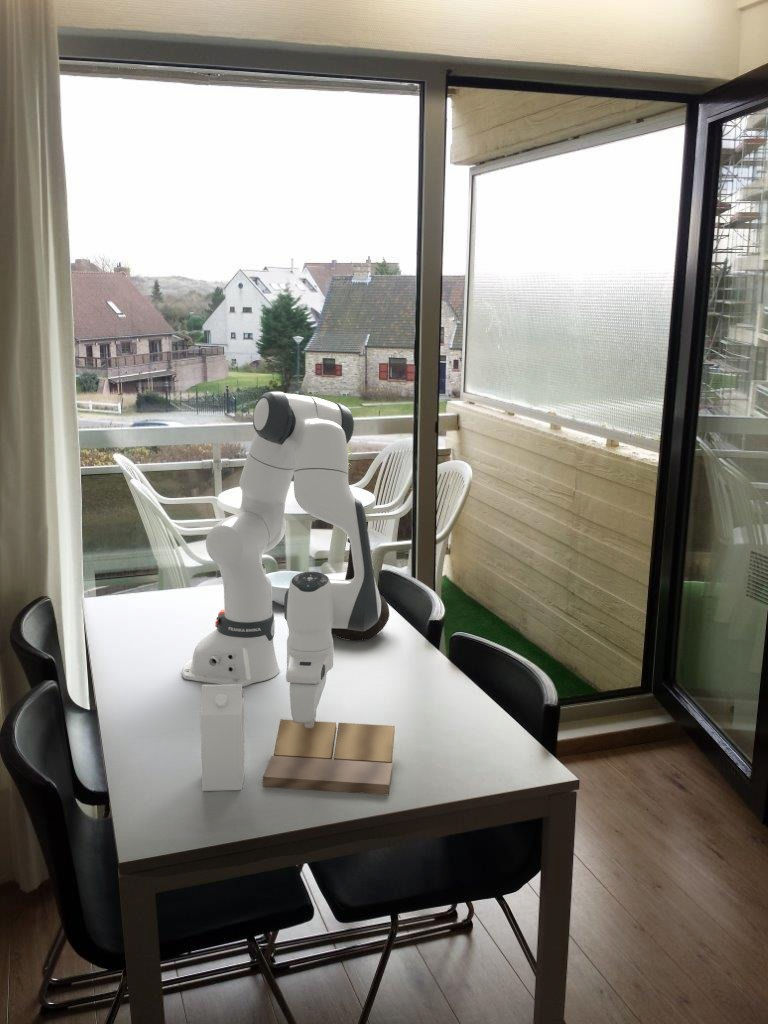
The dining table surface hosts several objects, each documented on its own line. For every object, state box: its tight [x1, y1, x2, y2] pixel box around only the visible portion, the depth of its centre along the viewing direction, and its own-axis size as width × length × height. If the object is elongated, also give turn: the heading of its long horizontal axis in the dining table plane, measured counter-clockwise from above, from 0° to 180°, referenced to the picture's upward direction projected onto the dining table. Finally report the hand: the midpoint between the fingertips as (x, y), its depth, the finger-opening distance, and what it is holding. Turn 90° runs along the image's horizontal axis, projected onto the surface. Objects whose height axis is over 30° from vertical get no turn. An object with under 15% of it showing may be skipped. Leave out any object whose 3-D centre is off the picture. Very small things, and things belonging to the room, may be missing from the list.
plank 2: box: [332, 722, 396, 764], centre depth 180 cm, size 11×8×2 cm
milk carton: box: [199, 684, 245, 792], centre depth 169 cm, size 7×7×19 cm
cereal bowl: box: [265, 570, 304, 606], centre depth 272 cm, size 17×17×7 cm
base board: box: [262, 755, 393, 795], centre depth 172 cm, size 23×8×2 cm, turn 85°
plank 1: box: [273, 718, 338, 759], centre depth 180 cm, size 11×8×2 cm
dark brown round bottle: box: [331, 537, 390, 642], centre depth 243 cm, size 18×18×28 cm
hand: (310, 724), depth 181 cm, fingers closed
